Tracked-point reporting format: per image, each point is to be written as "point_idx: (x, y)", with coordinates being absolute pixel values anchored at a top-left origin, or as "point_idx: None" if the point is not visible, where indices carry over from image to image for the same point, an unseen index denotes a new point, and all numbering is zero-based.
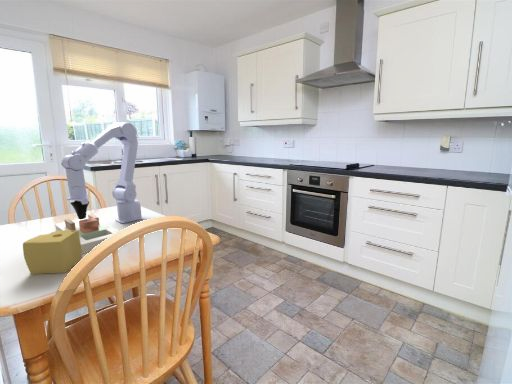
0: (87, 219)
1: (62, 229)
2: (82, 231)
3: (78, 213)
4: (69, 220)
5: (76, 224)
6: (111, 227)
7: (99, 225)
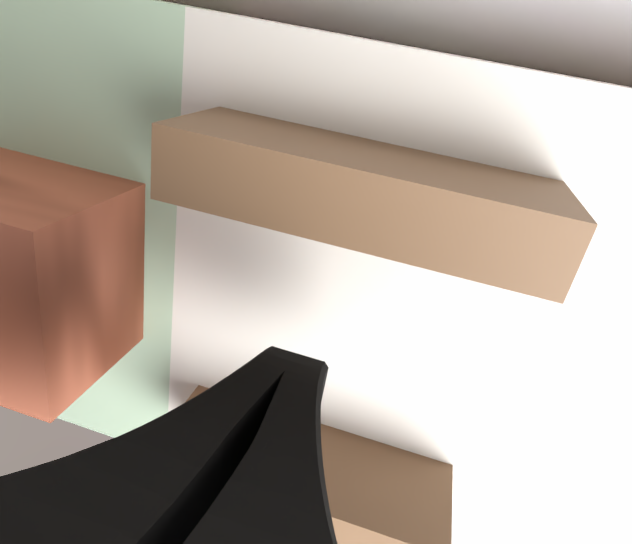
0: (5, 334)
1: (445, 66)
2: (40, 161)
3: (190, 406)
4: (395, 233)
5: (493, 324)
6: None
7: (164, 400)
